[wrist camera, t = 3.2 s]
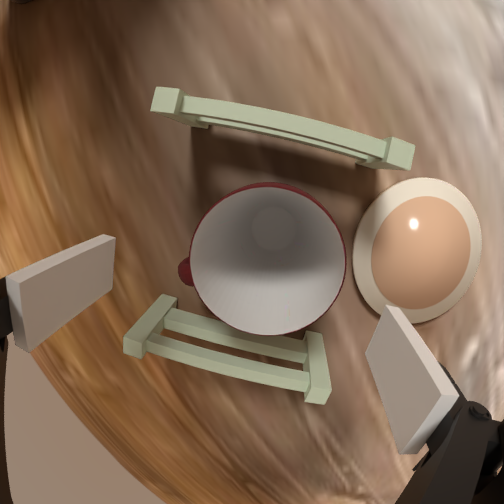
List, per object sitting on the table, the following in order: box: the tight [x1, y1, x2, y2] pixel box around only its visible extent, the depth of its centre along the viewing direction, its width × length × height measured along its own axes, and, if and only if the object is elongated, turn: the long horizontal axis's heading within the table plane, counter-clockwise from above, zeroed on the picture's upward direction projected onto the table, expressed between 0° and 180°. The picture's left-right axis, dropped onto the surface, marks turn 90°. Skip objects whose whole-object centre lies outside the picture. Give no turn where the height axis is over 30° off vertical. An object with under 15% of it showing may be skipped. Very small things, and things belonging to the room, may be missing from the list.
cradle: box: [123, 87, 416, 405], centre depth 21 cm, size 15×18×8 cm
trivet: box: [352, 177, 482, 323], centre depth 24 cm, size 13×13×1 cm
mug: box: [178, 182, 346, 336], centre depth 20 cm, size 11×8×10 cm
